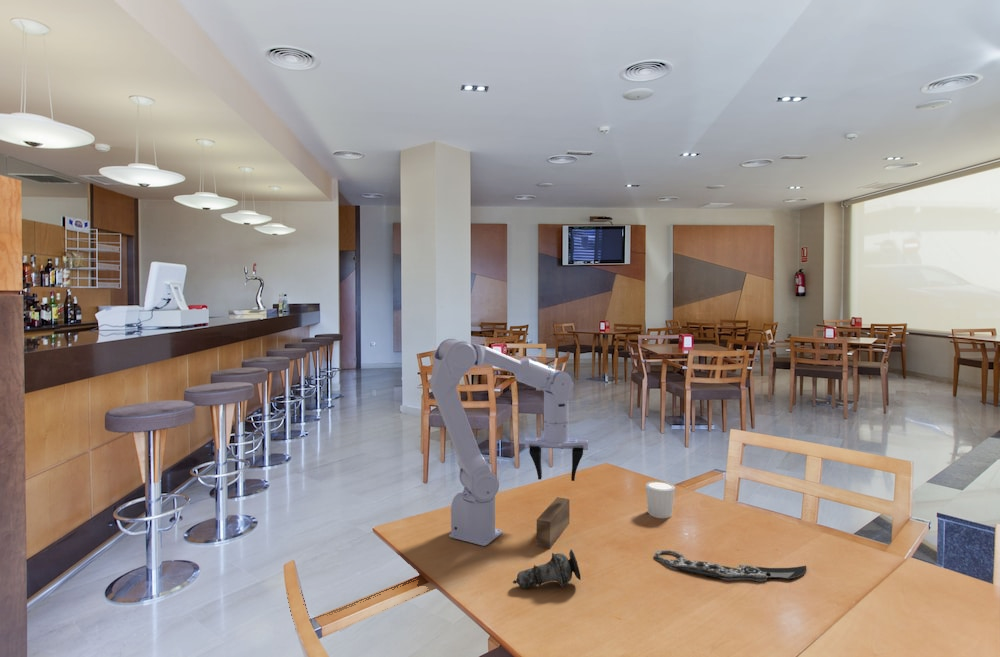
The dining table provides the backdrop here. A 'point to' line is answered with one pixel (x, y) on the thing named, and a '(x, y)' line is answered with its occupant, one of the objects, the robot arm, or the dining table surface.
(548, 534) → the dark wooden brick
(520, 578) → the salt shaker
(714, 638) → the dining table surface
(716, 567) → the knife
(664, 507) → the white cylinder
